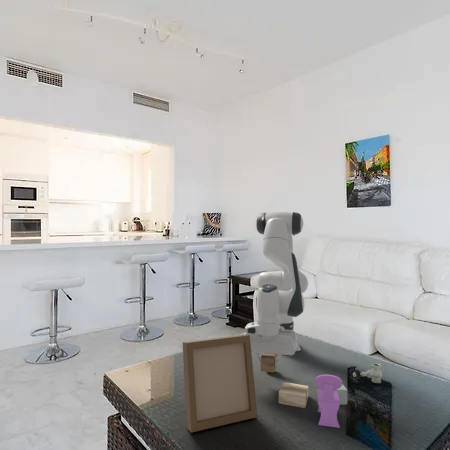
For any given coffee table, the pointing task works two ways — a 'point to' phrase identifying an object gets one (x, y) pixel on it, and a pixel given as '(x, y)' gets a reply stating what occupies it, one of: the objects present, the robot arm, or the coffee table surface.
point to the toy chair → (328, 399)
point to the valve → (367, 373)
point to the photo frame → (218, 382)
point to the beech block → (293, 394)
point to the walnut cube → (267, 362)
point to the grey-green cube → (342, 394)
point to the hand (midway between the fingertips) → (268, 364)
